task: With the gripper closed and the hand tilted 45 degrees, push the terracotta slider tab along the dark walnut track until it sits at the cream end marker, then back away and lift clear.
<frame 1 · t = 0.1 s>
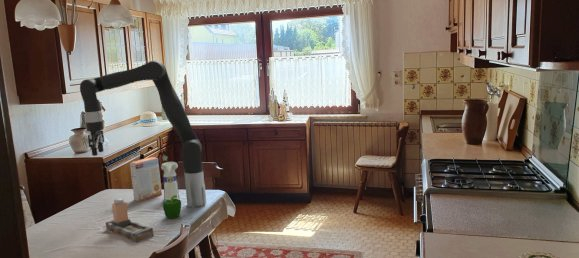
hand: (98, 153, 217), 29 cm above the table, tool pointing down, fingers open, 8 cm apart
bell pepper: (173, 217, 210), on the table
white bottle: (172, 199, 237), on the table
slider tab: (120, 212, 195), point 8 cm above the table, slide at -6.0 cm
fader track: (129, 232, 193), on the table
cracker box: (147, 197, 242), on the table
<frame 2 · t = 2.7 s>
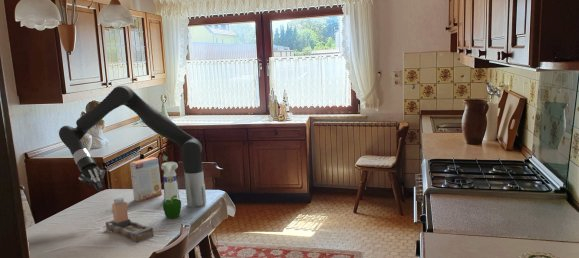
hand: (100, 189, 204), 16 cm above the table, tool tilted 45°, fingers closed
nothing on the table moved.
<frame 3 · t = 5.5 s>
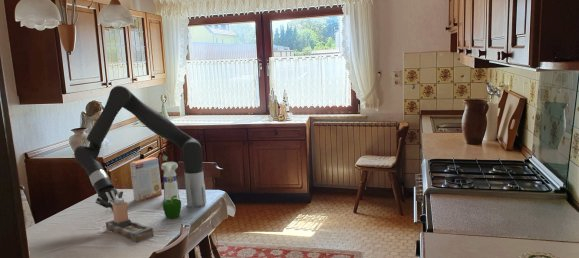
hand: (118, 212, 197), 7 cm above the table, tool tilted 45°, fingers closed
slider tab: (120, 212, 195), point 8 cm above the table, slide at -5.8 cm, touching gripper
everything else where it was.
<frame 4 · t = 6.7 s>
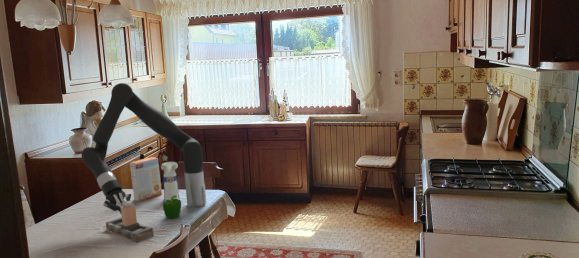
hand: (126, 216, 192), 7 cm above the table, tool tilted 45°, fingers closed
slider tab: (128, 215, 191), point 8 cm above the table, slide at 1.1 cm, touching gripper
everything else where it was.
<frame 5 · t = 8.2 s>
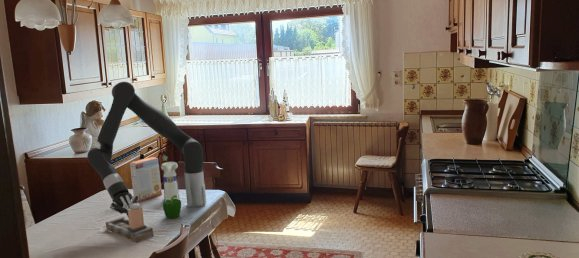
hand: (133, 218, 189), 7 cm above the table, tool tilted 45°, fingers closed
slider tab: (136, 217, 187), point 8 cm above the table, slide at 6.6 cm, touching gripper
everything else where it was.
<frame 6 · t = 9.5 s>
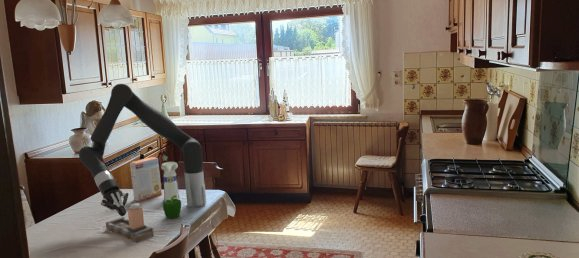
hand: (123, 214, 193), 7 cm above the table, tool tilted 45°, fingers closed
slider tab: (136, 217, 187), point 8 cm above the table, slide at 6.7 cm
everything else where it was.
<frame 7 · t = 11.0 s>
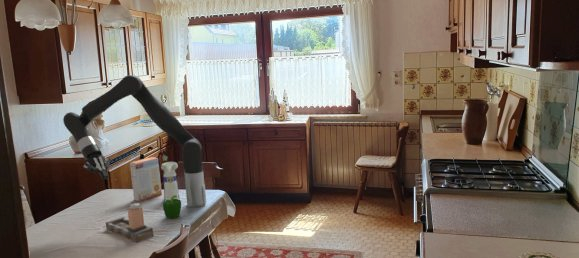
hand: (105, 178, 200), 22 cm above the table, tool tilted 45°, fingers closed
nothing on the table moved.
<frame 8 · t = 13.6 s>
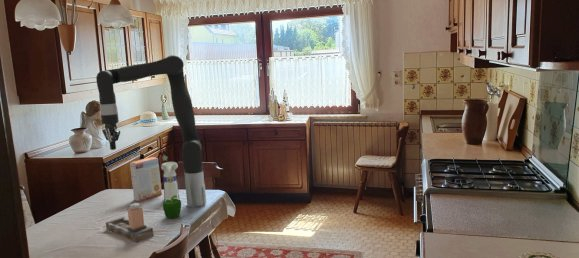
hand: (113, 149, 212), 32 cm above the table, tool pointing down, fingers closed
nothing on the table moved.
at the end: slider tab slide at 6.7 cm; the gripper is holding nothing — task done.
